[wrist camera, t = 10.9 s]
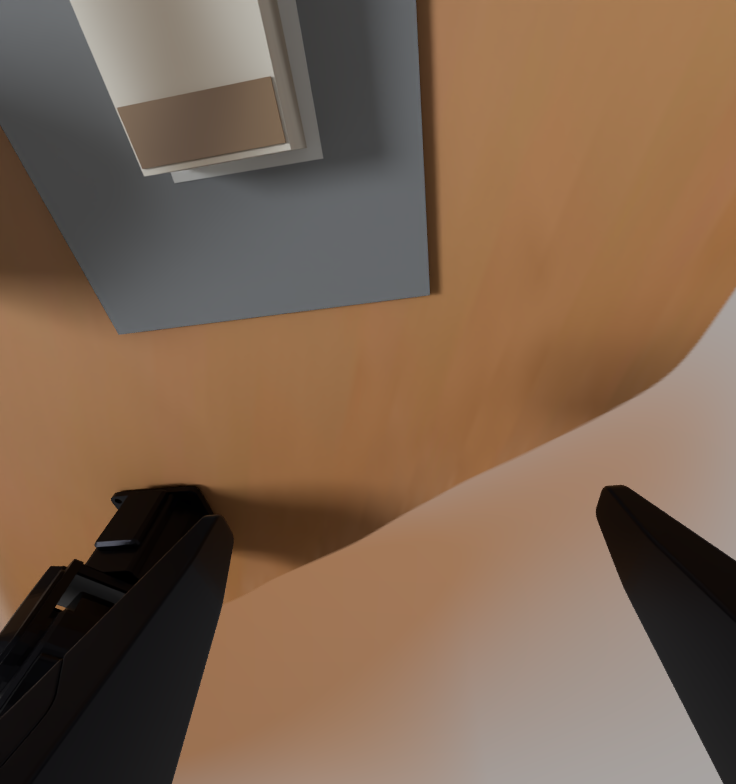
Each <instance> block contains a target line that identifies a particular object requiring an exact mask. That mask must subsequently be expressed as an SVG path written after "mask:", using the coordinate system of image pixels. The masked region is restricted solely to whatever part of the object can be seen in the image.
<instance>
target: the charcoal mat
mask: <svg viewBox="0 0 736 784" xmlns="http://www.w3.org/2000/svg"><path fill="white" fill-rule="evenodd" d="M277 3H278V8H279V13H280V17H281V22H282V27H283V32H284V37H285V42H286V47H287V52H288V57H289V62H290V67H291V72H292V77H293V82H294V86H295V91H296V96H297V101H298V106H299V111H300V116H301V121H302V126H303V131H304V136H305V141H306V146H307V148H303V149H298V150H292V151H287V152H281V153H276V154H270V155H265V156H259V157H254V158H248V159H243V160H237V161H232V162H227V163H221V164H216V165H210V166H205V167H199V168H194V169H188V170H182V171H176V172H170V173H163V174H157V175H150V176H144V175H143V173H142V170H141V168H140V166H139V163H138V161H137V158H136V156H135V154H134V151H133V149H132V147H131V144H130V142H129V140H128V137H127V135H126V132H125V130H124V128H123V125H122V123H121V121H120V118H119V116H118V114H117V111H116V109H115V106H114V104H113V102H112V99H111V97H110V95H109V92H108V90H107V88H106V85H105V83H104V81H103V78H102V76H101V73H100V71H99V69H98V66H97V64H96V62H95V59H94V57H93V55H92V52H91V50H90V47H89V45H88V43H87V40H86V38H85V36H84V33H83V31H82V29H81V26H80V24H79V21H78V19H77V17H76V14H75V12H74V10H73V7H72V5H71V3H70V0H0V125H1V127H2V129H3V131H4V132H5V134H6V136H7V138H8V139H9V141H10V143H11V145H12V147H13V148H14V150H15V152H16V154H17V155H18V157H19V159H20V161H21V162H22V164H23V166H24V168H25V170H26V171H27V173H28V175H29V177H30V178H31V180H32V182H33V184H34V185H35V187H36V189H37V191H38V193H39V194H40V196H41V198H42V200H43V201H44V203H45V205H46V207H47V208H48V210H49V212H50V214H51V216H52V217H53V219H54V221H55V223H56V224H57V226H58V228H59V230H60V231H61V233H62V235H63V237H64V239H65V240H66V242H67V244H68V246H69V247H70V249H71V251H72V253H73V254H74V256H75V258H76V260H77V262H78V263H79V265H80V267H81V269H82V270H83V272H84V274H85V276H86V277H87V279H88V281H89V283H90V285H91V286H92V288H93V290H94V292H95V293H96V295H97V297H98V299H99V300H100V302H101V304H102V306H103V308H104V309H105V311H106V313H107V315H108V316H109V318H110V320H111V322H112V323H113V325H114V327H115V329H116V331H117V332H118V334H127V333H135V332H143V331H151V330H159V329H167V328H174V327H182V326H190V325H198V324H206V323H214V322H222V321H229V320H237V319H245V318H253V317H261V316H269V315H277V314H285V313H292V312H300V311H308V310H316V309H324V308H332V307H340V306H348V305H355V304H363V303H371V302H379V301H387V300H395V299H403V298H411V297H418V296H426V295H430V285H429V265H428V244H427V223H426V202H425V181H424V160H423V139H422V118H421V97H420V76H419V55H418V34H417V13H416V0H277Z"/></svg>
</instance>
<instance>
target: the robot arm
mask: <svg viewBox="0 0 736 784" xmlns="http://www.w3.org/2000/svg"><path fill="white" fill-rule="evenodd" d="M111 501H112V503H113V504H114V505H115V506H116V508H117V509H118V511H117V512H116V514H115V515H114V517H113V518H112V519H111V521H110V522H109V524H108V525H107V527H106V528H105V529H104V531H103V532H102V534H101V535H100V536H99V538H98V539H97V541H96V543H95V547H96V549H95V551H94V552H93V554H92V555H91V557H90V558H89V560H88V561H87V562H86V564H85V565H84V564H83V563H84V562H82V561H79V560H77V559H74V560H73V561H72V562H71V563H70V564H69V565H68V566H67V567H66V566H50V567H49V569H48V570H47V571H46V572H45V574H44V575H43V576H42V577H41V579H40V580H39V581H38V583H37V584H36V585H35V587H34V588H33V589H32V590H31V592H30V593H29V594H28V596H27V597H26V598H25V600H24V601H23V602H22V604H21V605H20V606H19V608H18V609H17V610H16V612H15V613H14V615H13V616H12V617H11V619H10V620H9V621H8V623H7V624H6V626H5V627H4V628H3V630H2V631H1V632H0V784H172V781H173V778H174V774H175V771H176V767H177V764H178V760H179V757H180V753H181V750H182V746H183V742H184V739H185V735H186V732H187V728H188V725H189V721H190V718H191V714H192V711H193V707H194V704H195V700H196V697H197V693H198V690H199V686H200V682H201V679H202V675H203V672H204V669H205V665H206V661H207V658H208V654H209V651H210V647H211V644H212V640H213V637H214V633H215V630H216V626H217V623H218V619H219V615H220V611H221V608H222V604H223V599H224V594H225V588H226V582H227V577H228V571H229V566H230V560H231V554H232V549H233V543H234V538H233V534H232V532H231V530H230V528H229V526H228V524H227V523H226V521H225V519H224V517H223V516H222V515H219V514H217V515H214V514H213V512H212V511H211V509H210V507H209V505H208V504H207V502H206V500H205V498H204V497H203V495H202V493H201V492H200V490H199V489H198V488H196V487H194V486H187V487H175V488H163V489H151V490H139V491H127V492H117V493H115V494H114V495H113V497H112V498H111ZM596 517H597V520H598V523H599V526H600V528H601V531H602V533H603V536H604V539H605V541H606V544H607V546H608V549H609V552H610V554H611V557H612V559H613V562H614V565H615V567H616V570H617V572H618V575H619V577H620V580H621V582H622V585H623V587H624V589H625V591H626V593H627V595H628V597H629V599H630V601H631V603H632V605H633V607H634V609H635V611H636V613H637V615H638V617H639V619H640V621H641V623H642V625H643V627H644V629H645V631H646V633H647V635H648V637H649V638H650V641H651V643H652V645H653V647H654V649H655V650H656V652H657V654H658V656H659V658H660V660H661V662H662V664H663V666H664V668H665V670H666V672H667V674H668V676H669V678H670V680H671V682H672V684H673V686H674V688H675V690H676V692H677V693H678V696H679V698H680V700H681V701H682V703H683V705H684V707H685V709H686V711H687V713H688V715H689V717H690V719H691V721H692V723H693V725H694V727H695V729H696V731H697V733H698V735H699V737H700V739H701V741H702V743H703V745H704V747H705V748H706V751H707V752H708V754H709V756H710V758H711V760H712V762H713V764H714V766H715V768H716V770H717V772H718V774H719V776H720V778H721V780H722V782H723V784H736V561H735V560H734V559H732V558H731V557H729V556H728V555H726V554H725V553H724V552H722V551H721V550H719V549H718V548H716V547H715V546H713V545H712V544H710V543H709V542H708V541H706V540H705V539H703V538H702V537H700V536H699V535H697V534H696V533H694V532H693V531H691V530H690V529H689V528H687V527H686V526H684V525H683V524H681V523H680V522H678V521H677V520H675V519H674V518H672V517H671V516H669V515H668V514H667V513H665V512H664V511H662V510H660V509H659V508H658V507H656V506H655V505H653V504H652V503H650V502H649V501H648V500H646V499H644V498H643V497H642V496H640V495H639V494H637V493H636V492H634V491H633V490H631V489H630V488H628V487H626V486H624V485H613V486H605V487H604V488H603V489H602V491H601V495H600V498H599V501H598V504H597V507H596ZM56 605H60V606H63V607H66V608H65V610H63V611H62V610H59V609H57V608H55V606H56Z"/></svg>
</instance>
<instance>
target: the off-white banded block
mask: <svg viewBox="0 0 736 784" xmlns="http://www.w3.org/2000/svg"><path fill="white" fill-rule="evenodd" d="M70 3H71V5H72V7H73V10H74V12H75V14H76V17H77V19H78V21H79V24H80V26H81V29H82V31H83V33H84V36H85V38H86V40H87V43H88V45H89V47H90V50H91V52H92V55H93V57H94V59H95V62H96V64H97V66H98V69H99V71H100V73H101V76H102V78H103V81H104V83H105V85H106V88H107V90H108V92H109V95H110V97H111V99H112V102H113V104H114V106H115V109H116V111H117V114H118V116H119V118H120V121H121V123H122V125H123V128H124V130H125V132H126V135H127V137H128V140H129V142H130V144H131V147H132V149H133V151H134V154H135V156H136V158H137V161H138V163H139V166H140V168H141V170H142V173H143V175H144V176H150V175H157V174H163V173H170V172H176V171H182V170H188V169H194V168H199V167H205V166H210V165H216V164H221V163H227V162H232V161H237V160H243V159H248V158H254V157H259V156H265V155H270V154H276V153H281V152H287V151H292V150H298V149H303V148H307V146H306V141H305V136H304V131H303V126H302V121H301V116H300V111H299V106H298V101H297V96H296V91H295V86H294V82H293V77H292V72H291V67H290V62H289V57H288V52H287V47H286V42H285V37H284V32H283V27H282V22H281V17H280V13H279V8H278V3H277V0H70Z"/></svg>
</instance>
